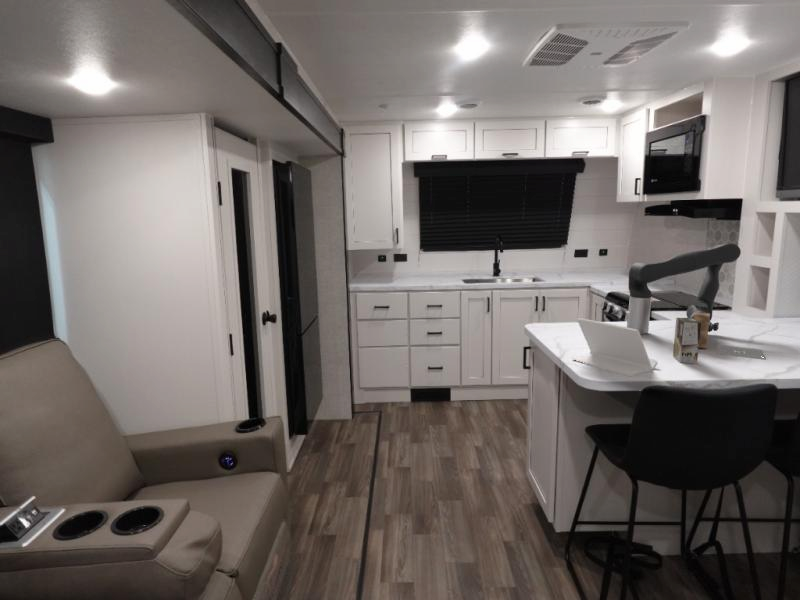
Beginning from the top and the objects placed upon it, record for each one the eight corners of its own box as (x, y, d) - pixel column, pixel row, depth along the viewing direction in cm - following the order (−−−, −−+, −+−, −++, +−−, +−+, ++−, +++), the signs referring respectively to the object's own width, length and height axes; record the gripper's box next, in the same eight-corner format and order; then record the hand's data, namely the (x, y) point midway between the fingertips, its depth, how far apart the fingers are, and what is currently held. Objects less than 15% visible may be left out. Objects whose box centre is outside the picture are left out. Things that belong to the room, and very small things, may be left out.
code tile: (718, 354, 207) (718, 354, 207) (716, 345, 221) (716, 344, 221) (766, 360, 199) (767, 359, 199) (761, 350, 213) (761, 349, 213)
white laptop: (630, 377, 181) (634, 330, 178) (571, 360, 201) (573, 318, 198) (658, 368, 191) (662, 323, 188) (598, 353, 211) (601, 312, 208)
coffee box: (697, 363, 196) (702, 322, 193) (679, 362, 197) (683, 321, 194) (689, 357, 205) (693, 317, 202) (672, 356, 206) (675, 316, 203)
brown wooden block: (691, 346, 216) (694, 314, 214) (691, 343, 221) (694, 312, 218) (706, 348, 214) (709, 315, 211) (705, 345, 218) (709, 313, 216)
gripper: (682, 311, 231) (681, 318, 216) (719, 314, 224) (722, 321, 209) (680, 327, 232) (680, 335, 218) (717, 330, 225) (720, 339, 211)
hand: (700, 328), depth 214 cm, fingers open, 5 cm apart
